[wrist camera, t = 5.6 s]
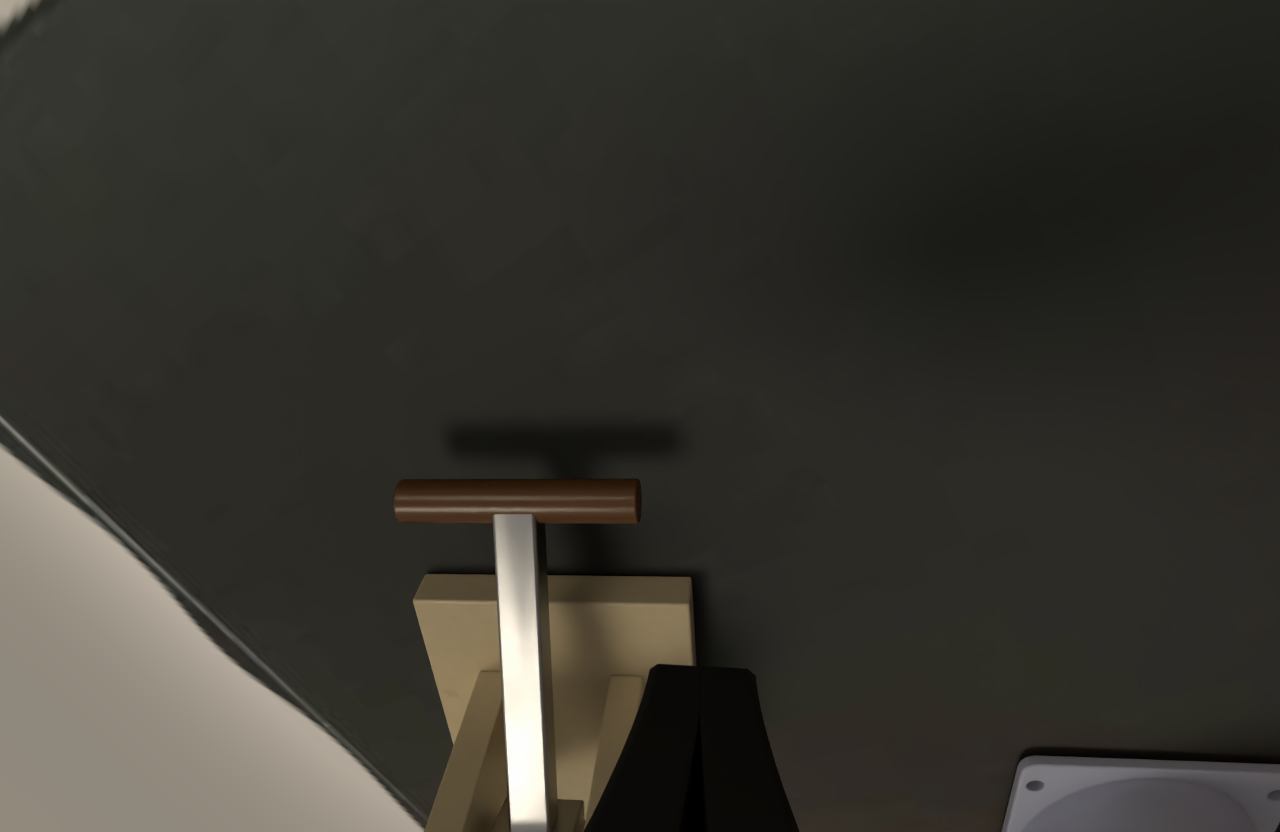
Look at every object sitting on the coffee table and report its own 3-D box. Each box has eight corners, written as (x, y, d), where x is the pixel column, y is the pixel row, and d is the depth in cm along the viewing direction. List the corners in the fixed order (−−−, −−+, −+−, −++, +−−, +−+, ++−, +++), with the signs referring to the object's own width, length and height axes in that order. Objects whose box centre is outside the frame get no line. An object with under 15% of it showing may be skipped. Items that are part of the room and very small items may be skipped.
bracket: (424, 572, 25) (310, 812, 18) (691, 575, 24) (674, 829, 17) (481, 784, 30) (408, 1032, 23) (703, 794, 29) (694, 1056, 22)
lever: (418, 470, 22) (379, 490, 19) (644, 468, 21) (632, 490, 19) (445, 884, 23) (412, 949, 21) (656, 896, 23) (646, 966, 20)
